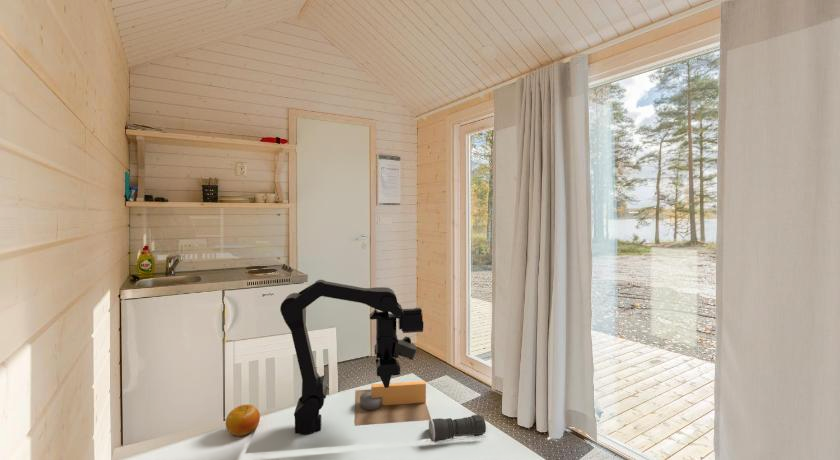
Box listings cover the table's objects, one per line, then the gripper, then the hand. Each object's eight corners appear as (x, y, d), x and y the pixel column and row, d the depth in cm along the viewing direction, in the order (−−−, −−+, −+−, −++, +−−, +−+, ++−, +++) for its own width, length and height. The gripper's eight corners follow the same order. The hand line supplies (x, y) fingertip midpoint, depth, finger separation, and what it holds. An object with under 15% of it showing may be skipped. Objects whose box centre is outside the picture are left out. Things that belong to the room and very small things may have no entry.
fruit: (216, 419, 113) (232, 397, 112) (243, 418, 120) (258, 397, 119) (225, 445, 108) (242, 421, 107) (253, 442, 114) (269, 419, 114)
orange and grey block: (360, 411, 122) (360, 391, 121) (360, 400, 128) (360, 381, 128) (427, 406, 125) (427, 387, 124) (423, 395, 131) (423, 377, 131)
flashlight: (480, 428, 116) (480, 409, 116) (487, 438, 111) (487, 419, 110) (428, 434, 113) (428, 415, 112) (433, 445, 107) (433, 425, 107)
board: (354, 430, 114) (354, 425, 114) (355, 394, 136) (355, 389, 136) (431, 424, 117) (431, 419, 117) (420, 390, 139) (420, 385, 139)
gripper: (419, 343, 106) (419, 401, 107) (410, 322, 124) (410, 372, 125) (376, 345, 104) (377, 403, 105) (374, 324, 122) (374, 374, 123)
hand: (386, 387), depth 115 cm, fingers closed
